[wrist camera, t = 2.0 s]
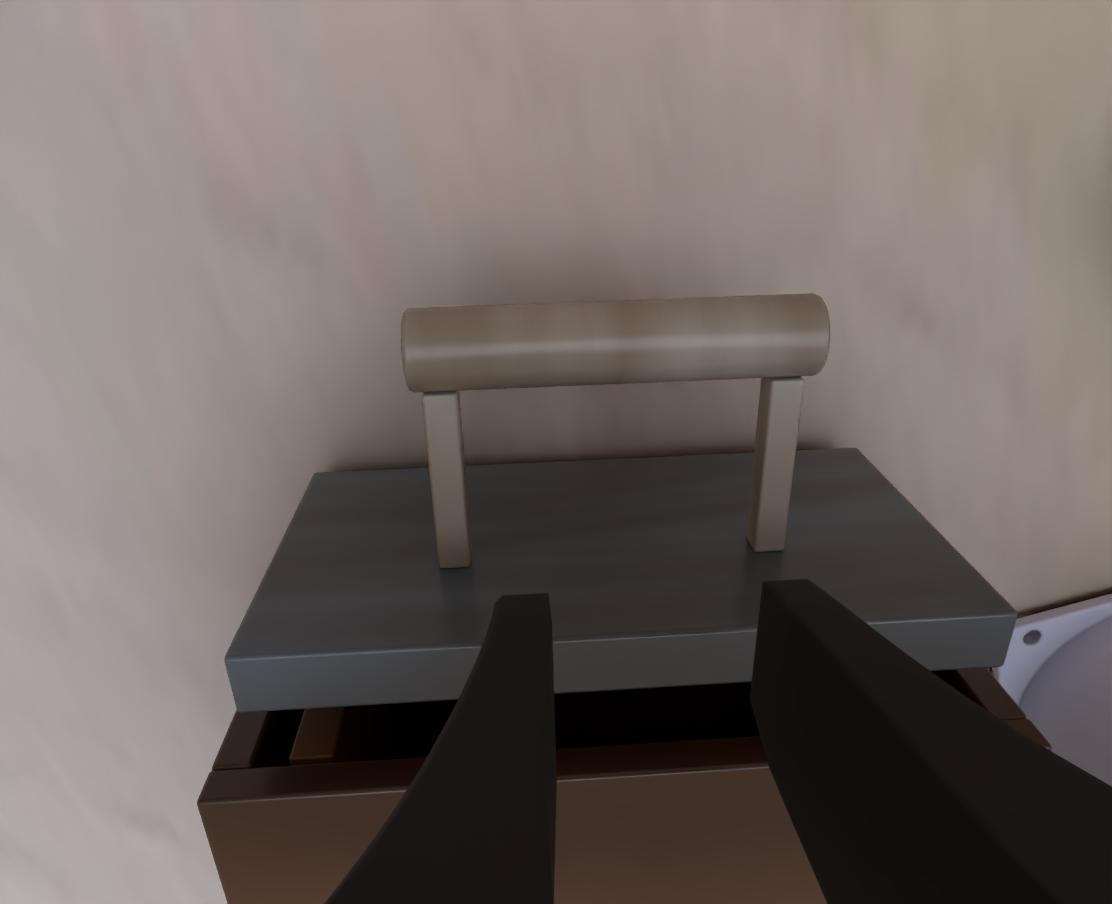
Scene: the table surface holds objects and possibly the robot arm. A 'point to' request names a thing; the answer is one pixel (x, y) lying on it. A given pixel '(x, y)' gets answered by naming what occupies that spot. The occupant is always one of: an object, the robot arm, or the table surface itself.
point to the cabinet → (581, 816)
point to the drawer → (592, 543)
